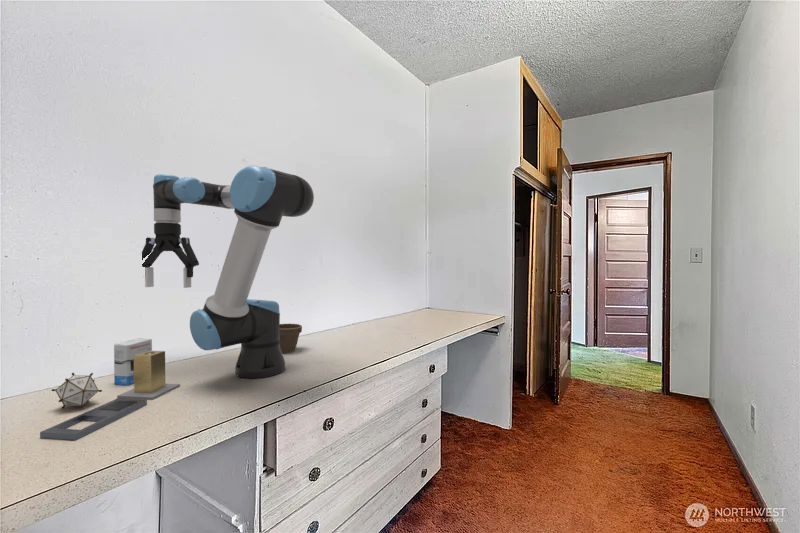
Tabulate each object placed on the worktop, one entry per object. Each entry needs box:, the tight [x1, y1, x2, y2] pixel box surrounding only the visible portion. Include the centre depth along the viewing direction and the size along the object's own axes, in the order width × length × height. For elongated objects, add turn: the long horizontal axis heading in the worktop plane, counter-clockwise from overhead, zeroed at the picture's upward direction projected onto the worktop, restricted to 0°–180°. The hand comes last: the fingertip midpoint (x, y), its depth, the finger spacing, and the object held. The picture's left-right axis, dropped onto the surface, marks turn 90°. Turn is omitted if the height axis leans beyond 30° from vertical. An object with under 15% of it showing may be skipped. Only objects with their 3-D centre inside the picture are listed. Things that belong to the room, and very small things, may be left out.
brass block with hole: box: [133, 350, 166, 393], centre depth 100 cm, size 5×5×10 cm
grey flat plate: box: [39, 397, 148, 441], centre depth 83 cm, size 8×18×1 cm, turn 174°
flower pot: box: [280, 323, 303, 354], centre depth 143 cm, size 12×11×10 cm
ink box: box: [113, 337, 153, 386], centre depth 109 cm, size 8×5×12 cm, turn 168°
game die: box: [50, 372, 103, 410], centre depth 90 cm, size 9×8×10 cm
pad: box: [116, 382, 181, 401], centre depth 100 cm, size 10×10×1 cm
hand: (168, 287), depth 121 cm, fingers open, 13 cm apart
